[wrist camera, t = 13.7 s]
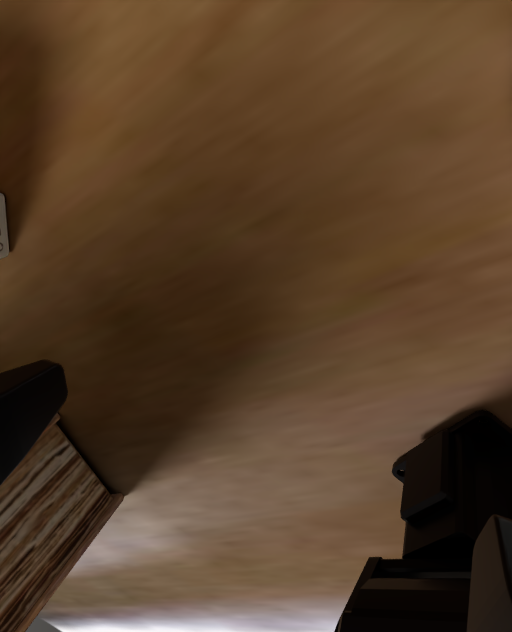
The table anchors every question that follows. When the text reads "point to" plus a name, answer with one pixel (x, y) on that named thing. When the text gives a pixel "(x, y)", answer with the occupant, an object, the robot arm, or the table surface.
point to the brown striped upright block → (46, 524)
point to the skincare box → (3, 229)
